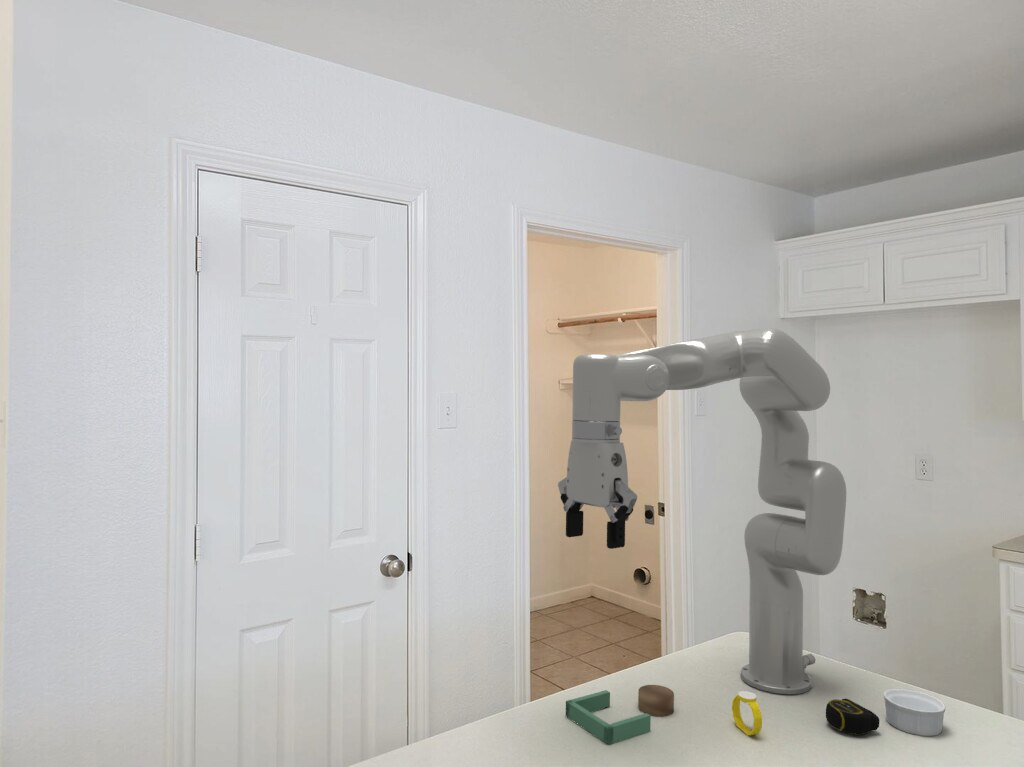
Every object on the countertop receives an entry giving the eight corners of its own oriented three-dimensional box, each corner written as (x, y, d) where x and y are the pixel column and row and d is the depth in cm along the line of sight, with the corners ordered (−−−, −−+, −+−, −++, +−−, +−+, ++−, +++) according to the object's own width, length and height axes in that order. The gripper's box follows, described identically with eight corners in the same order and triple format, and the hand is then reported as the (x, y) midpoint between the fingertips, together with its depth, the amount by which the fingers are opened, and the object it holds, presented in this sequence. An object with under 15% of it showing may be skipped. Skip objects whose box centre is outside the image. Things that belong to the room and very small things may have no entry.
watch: (727, 724, 113) (728, 687, 113) (741, 722, 113) (742, 685, 114) (751, 741, 107) (751, 703, 107) (766, 739, 108) (766, 701, 108)
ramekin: (892, 708, 120) (893, 683, 120) (951, 726, 113) (951, 700, 113) (875, 724, 113) (875, 698, 113) (936, 744, 107) (937, 716, 107)
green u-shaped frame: (606, 704, 119) (606, 690, 119) (650, 731, 110) (650, 715, 110) (565, 716, 114) (565, 701, 114) (608, 744, 105) (608, 728, 105)
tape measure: (882, 736, 110) (882, 712, 110) (847, 742, 107) (847, 718, 108) (848, 717, 116) (849, 695, 116) (816, 722, 114) (816, 699, 114)
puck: (656, 699, 122) (656, 682, 122) (681, 712, 117) (681, 694, 117) (631, 706, 119) (631, 689, 119) (655, 720, 114) (655, 702, 114)
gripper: (653, 435, 103) (651, 549, 102) (578, 429, 117) (577, 530, 117) (616, 435, 98) (614, 555, 98) (543, 430, 113) (542, 534, 112)
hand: (594, 541), depth 107 cm, fingers open, 9 cm apart
